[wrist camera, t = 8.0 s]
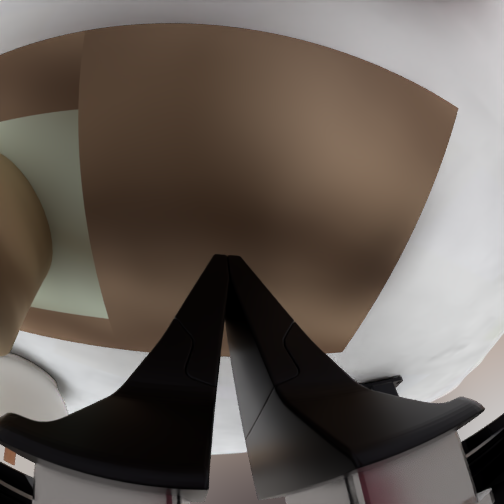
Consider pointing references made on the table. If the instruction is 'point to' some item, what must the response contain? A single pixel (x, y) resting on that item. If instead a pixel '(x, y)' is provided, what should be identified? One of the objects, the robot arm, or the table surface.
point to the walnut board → (214, 173)
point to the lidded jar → (28, 393)
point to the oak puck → (20, 250)
